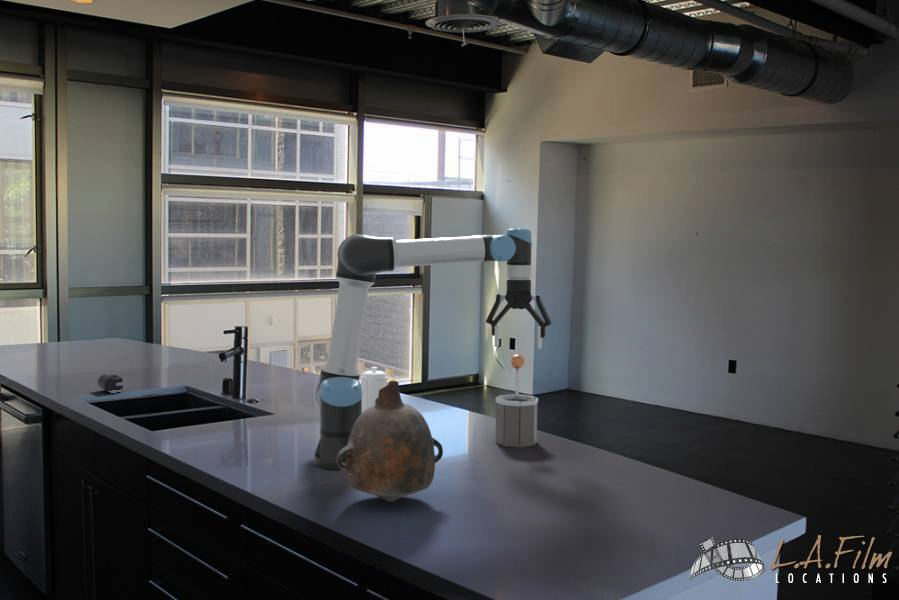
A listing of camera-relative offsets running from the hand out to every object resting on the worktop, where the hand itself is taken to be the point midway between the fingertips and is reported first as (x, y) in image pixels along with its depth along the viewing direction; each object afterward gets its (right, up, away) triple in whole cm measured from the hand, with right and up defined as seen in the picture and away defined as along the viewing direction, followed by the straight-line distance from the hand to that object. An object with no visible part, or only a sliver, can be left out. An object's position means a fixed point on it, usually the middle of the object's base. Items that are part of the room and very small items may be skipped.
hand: (518, 347), depth 256 cm
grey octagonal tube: (0, -30, +4) cm, 30 cm away
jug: (-36, -34, -57) cm, 75 cm away
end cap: (-159, -23, +79) cm, 179 cm away
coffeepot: (-48, -28, +31) cm, 63 cm away
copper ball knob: (0, -23, +2) cm, 23 cm away
